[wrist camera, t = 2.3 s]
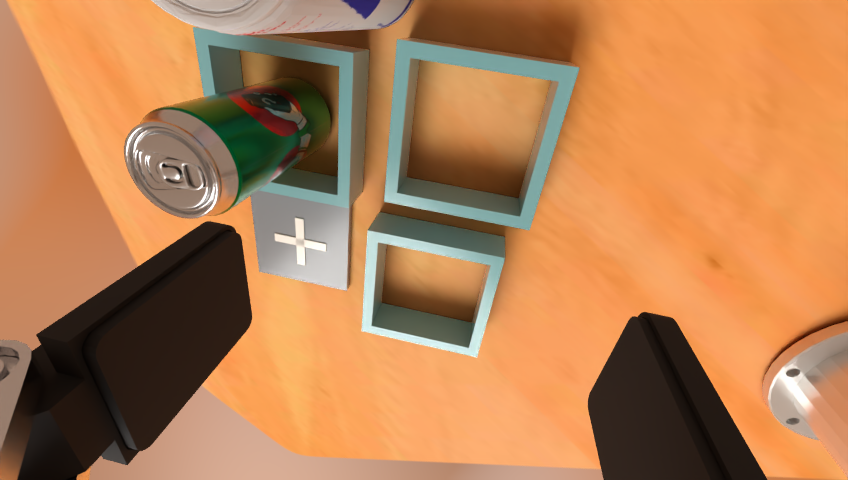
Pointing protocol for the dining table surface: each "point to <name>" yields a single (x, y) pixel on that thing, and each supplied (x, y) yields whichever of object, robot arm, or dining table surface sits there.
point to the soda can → (224, 145)
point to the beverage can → (286, 15)
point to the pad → (302, 239)
